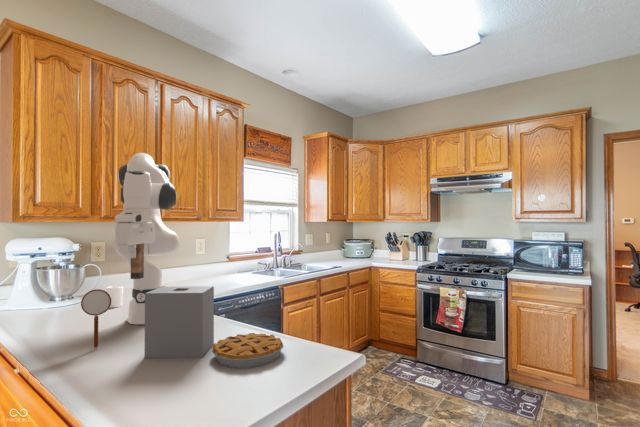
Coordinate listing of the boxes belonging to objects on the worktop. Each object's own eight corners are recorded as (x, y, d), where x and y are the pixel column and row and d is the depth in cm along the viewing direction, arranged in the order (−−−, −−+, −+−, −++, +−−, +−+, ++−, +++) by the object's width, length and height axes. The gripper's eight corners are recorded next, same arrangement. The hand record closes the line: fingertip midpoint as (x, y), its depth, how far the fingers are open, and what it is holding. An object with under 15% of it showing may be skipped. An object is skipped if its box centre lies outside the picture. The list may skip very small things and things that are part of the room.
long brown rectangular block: (135, 277, 124) (135, 231, 125) (143, 277, 124) (143, 231, 125) (130, 279, 121) (130, 231, 122) (139, 278, 121) (139, 231, 122)
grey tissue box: (161, 345, 123) (161, 286, 124) (213, 344, 123) (213, 286, 124) (144, 358, 111) (144, 293, 112) (202, 357, 111) (202, 292, 112)
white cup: (122, 307, 180) (122, 287, 181) (104, 308, 177) (104, 288, 178) (124, 304, 188) (124, 285, 188) (107, 305, 185) (107, 286, 185)
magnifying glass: (111, 347, 121) (111, 287, 122) (110, 348, 120) (111, 288, 120) (81, 350, 118) (81, 289, 118) (80, 352, 116) (80, 290, 117)
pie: (297, 356, 112) (297, 340, 112) (236, 377, 97) (235, 359, 97) (257, 340, 128) (257, 326, 128) (199, 356, 112) (199, 340, 112)
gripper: (143, 217, 133) (142, 254, 133) (111, 216, 113) (111, 260, 113) (159, 217, 134) (159, 254, 133) (131, 216, 113) (131, 260, 113)
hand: (137, 257), depth 123 cm, fingers closed on long brown rectangular block, 3 cm apart
